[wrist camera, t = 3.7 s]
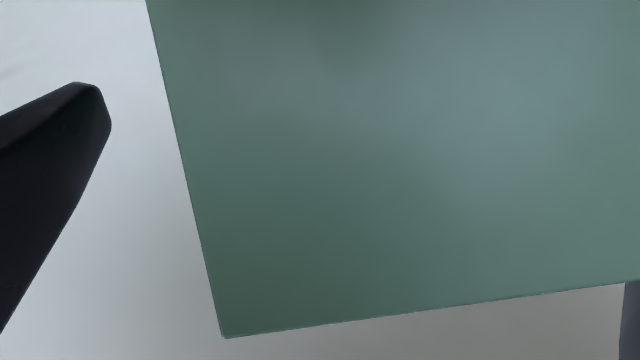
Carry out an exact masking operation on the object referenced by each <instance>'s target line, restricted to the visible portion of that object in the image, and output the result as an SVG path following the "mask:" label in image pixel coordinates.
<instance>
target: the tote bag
mask: <svg viewBox="0 0 640 360" xmlns="http://www.w3.org/2000/svg"><path fill="white" fill-rule="evenodd" d="M145 1H146V5H147V9H148V14H149V18H150V23H151V27H152V31H153V36H154V40H155V45H156V49H157V53H158V58H159V62H160V67H161V71H162V76H163V80H164V84H165V89H166V93H167V98H168V102H169V106H170V111H171V115H172V120H173V124H174V128H175V133H176V137H177V142H178V146H179V150H180V155H181V159H182V164H183V168H184V172H185V177H186V181H187V186H188V190H189V194H190V199H191V203H192V208H193V212H194V216H195V221H196V225H197V230H198V234H199V238H200V243H201V247H202V252H203V256H204V260H205V265H206V269H207V274H208V278H209V282H210V287H211V291H212V296H213V300H214V304H215V309H216V313H217V318H218V322H219V326H220V331H221V335H222V337H223V338H225V339H229V338H236V337H243V336H250V335H257V334H264V333H271V332H278V331H286V330H293V329H300V328H307V327H314V326H321V325H328V324H335V323H342V322H349V321H356V320H363V319H370V318H377V317H384V316H391V315H399V314H406V313H413V312H420V311H427V310H434V309H441V308H448V307H455V306H462V305H469V304H476V303H483V302H490V301H497V300H504V299H511V298H519V297H526V296H533V295H540V294H547V293H554V292H561V291H568V290H575V289H582V288H589V287H596V286H603V285H610V284H617V283H624V282H632V281H639V280H640V0H145Z"/></svg>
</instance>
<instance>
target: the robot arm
mask: <svg viewBox="0 0 640 360" xmlns="http://www.w3.org/2000/svg"><path fill="white" fill-rule="evenodd" d="M111 125H112V124H111V118H110V115H109V113H108V110H107V107H106V104H105V102H104V99H103V96H102V93H101V91H100V89H99V88H98V87H97V86H95V85H91V84H86V83H81V82H72V83H69V84H67V85H65V86H63V87H61V88H59V89H57V90H55V91H52V92H50V93H48V94H46V95H44V96H42V97H40V98H38V99H35V100H33V101H31V102H29V103H27V104H25V105H23V106H21V107H18V108H16V109H14V110H12V111H10V112H8V113H6V114H4V115H1V116H0V334H1V333H2V331H3V329H4V328H5V326H6V324H7V323H8V321H9V319H10V318H11V316H12V314H13V312H14V311H15V309H16V307H17V306H18V304H19V302H20V301H21V299H22V297H23V296H24V294H25V292H26V291H27V289H28V287H29V286H30V284H31V282H32V281H33V279H34V277H35V276H36V274H37V272H38V271H39V269H40V267H41V265H42V264H43V262H44V260H45V259H46V257H47V255H48V254H49V252H50V250H51V249H52V247H53V245H54V244H55V242H56V240H57V239H58V237H59V235H60V234H61V232H62V230H63V229H64V227H65V225H66V223H67V222H68V220H69V218H70V217H71V215H72V213H73V212H74V210H75V208H76V206H77V204H78V202H79V200H80V198H81V196H82V194H83V192H84V190H85V188H86V186H87V183H88V181H89V179H90V177H91V175H92V172H93V170H94V168H95V166H96V164H97V161H98V159H99V157H100V155H101V153H102V150H103V148H104V146H105V144H106V142H107V139H108V137H109V135H110V132H111ZM619 360H640V280H639V281H632V282H625V291H624V300H623V309H622V318H621V327H620V339H619Z"/></svg>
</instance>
